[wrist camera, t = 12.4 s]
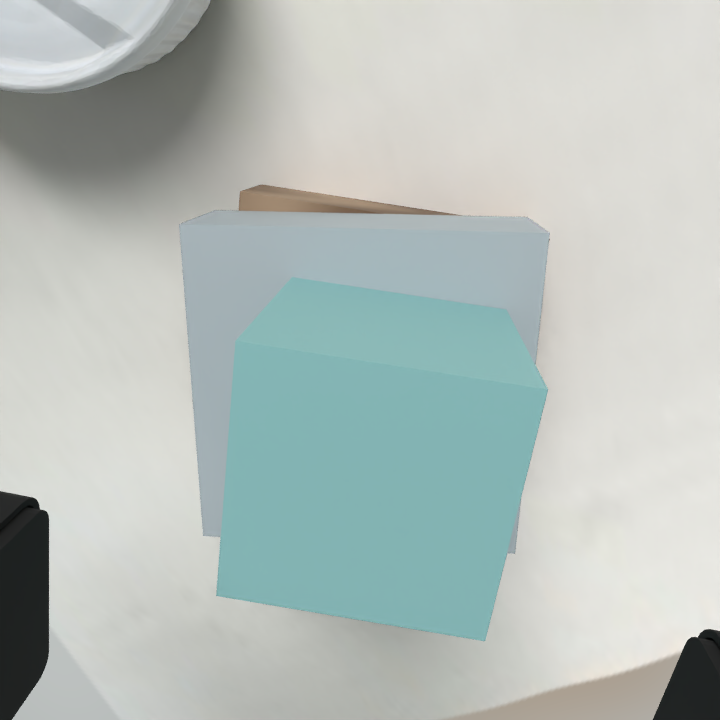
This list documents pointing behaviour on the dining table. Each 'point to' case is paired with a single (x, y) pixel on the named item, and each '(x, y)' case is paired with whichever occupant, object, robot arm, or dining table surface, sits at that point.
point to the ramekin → (87, 40)
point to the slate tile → (340, 266)
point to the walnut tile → (316, 203)
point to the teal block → (376, 456)
